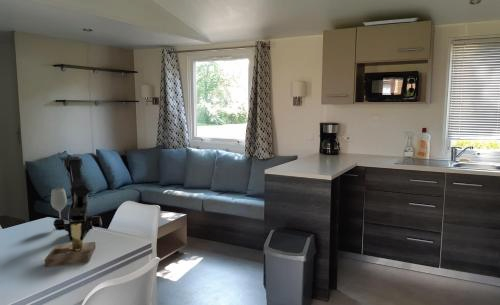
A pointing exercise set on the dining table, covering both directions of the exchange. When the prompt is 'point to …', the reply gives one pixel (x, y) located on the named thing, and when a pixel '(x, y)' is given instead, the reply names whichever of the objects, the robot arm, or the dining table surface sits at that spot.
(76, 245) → the peg
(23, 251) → the dining table surface
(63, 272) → the dining table surface
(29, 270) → the dining table surface
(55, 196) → the wineglass
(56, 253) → the keyhole board
